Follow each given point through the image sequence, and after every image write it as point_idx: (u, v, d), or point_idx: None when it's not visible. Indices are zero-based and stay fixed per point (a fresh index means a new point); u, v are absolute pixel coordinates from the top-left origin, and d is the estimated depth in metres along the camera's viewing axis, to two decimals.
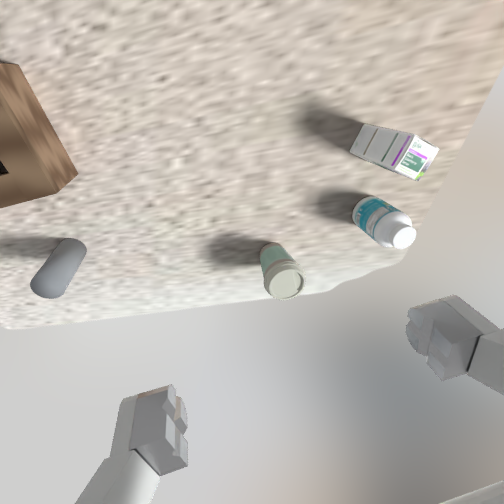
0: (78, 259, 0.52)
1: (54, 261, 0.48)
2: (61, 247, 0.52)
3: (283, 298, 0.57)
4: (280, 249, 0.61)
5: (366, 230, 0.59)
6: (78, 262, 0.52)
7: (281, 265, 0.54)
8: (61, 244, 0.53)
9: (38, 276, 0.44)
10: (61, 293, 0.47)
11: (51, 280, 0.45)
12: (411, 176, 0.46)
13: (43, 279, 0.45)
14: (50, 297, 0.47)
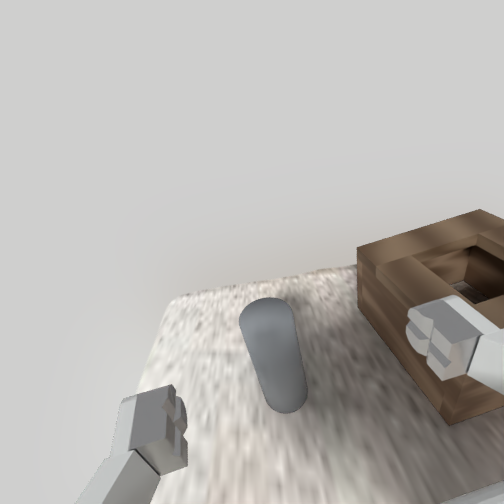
0: (284, 387, 0.27)
1: (298, 344, 0.27)
2: None
3: None
4: None
5: None
6: (278, 386, 0.27)
7: None
8: None
9: (288, 307, 0.26)
10: (246, 331, 0.24)
11: (278, 322, 0.24)
12: None
13: (281, 312, 0.25)
14: (241, 317, 0.26)
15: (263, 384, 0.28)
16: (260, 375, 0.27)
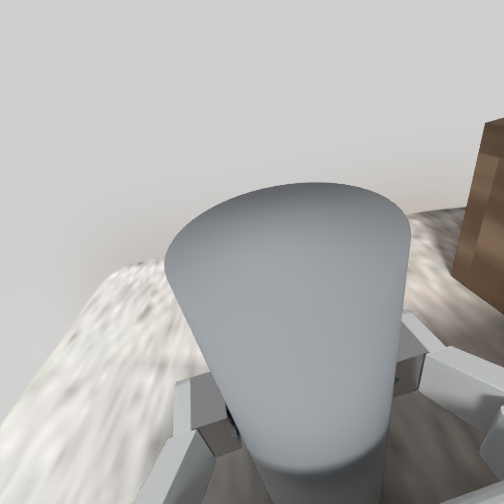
0: (337, 500, 0.08)
1: None
2: None
3: None
4: None
5: None
6: (316, 497, 0.08)
7: None
8: None
9: (372, 196, 0.06)
10: (187, 284, 0.05)
11: (344, 241, 0.05)
12: None
13: (347, 212, 0.06)
14: (182, 237, 0.06)
15: (264, 477, 0.09)
16: (255, 455, 0.08)
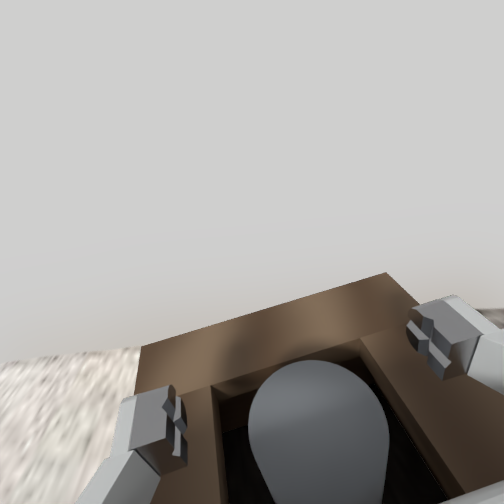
0: None
1: None
2: None
3: None
4: None
5: None
6: None
7: None
8: None
9: (369, 393, 0.11)
10: (268, 469, 0.09)
11: (353, 443, 0.09)
12: None
13: (354, 410, 0.10)
14: (255, 415, 0.11)
15: None
16: None
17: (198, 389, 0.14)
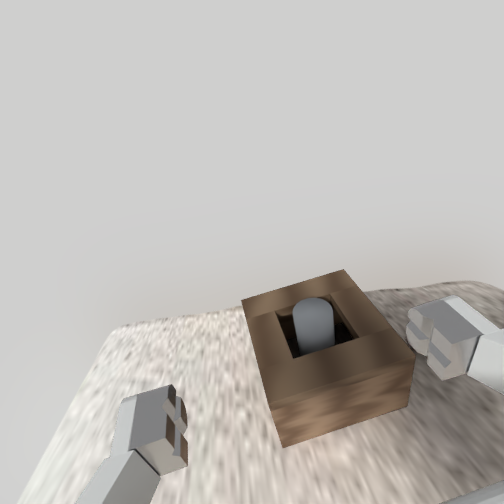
0: None
1: None
2: None
3: None
4: None
5: None
6: None
7: None
8: None
9: (328, 304, 0.35)
10: (299, 322, 0.34)
11: (322, 315, 0.34)
12: None
13: (324, 308, 0.35)
14: (294, 312, 0.35)
15: None
16: None
17: (270, 312, 0.39)
